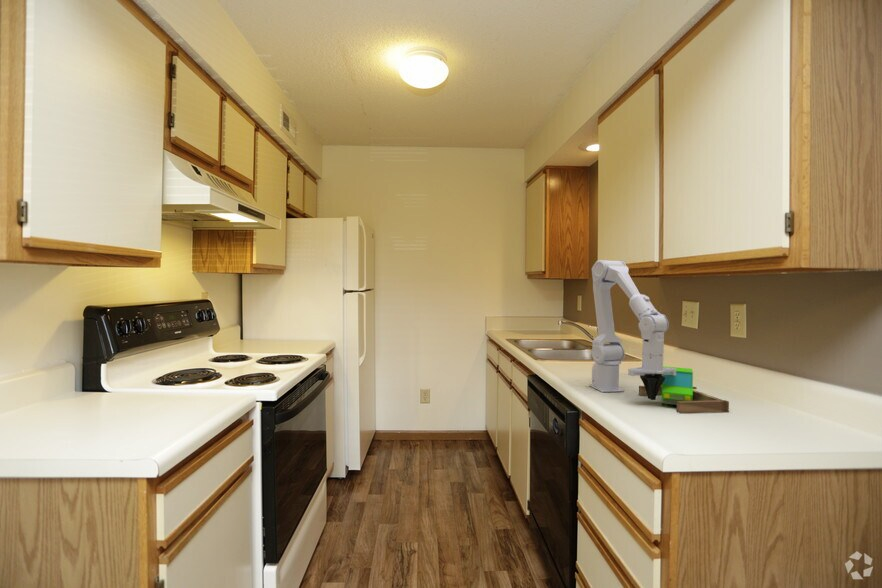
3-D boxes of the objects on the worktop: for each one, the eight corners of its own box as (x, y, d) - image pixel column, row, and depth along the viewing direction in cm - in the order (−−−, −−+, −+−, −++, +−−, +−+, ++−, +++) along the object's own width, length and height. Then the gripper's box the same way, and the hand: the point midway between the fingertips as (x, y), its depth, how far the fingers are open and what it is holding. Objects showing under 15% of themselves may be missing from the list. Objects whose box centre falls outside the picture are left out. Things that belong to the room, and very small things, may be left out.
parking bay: (638, 395, 141) (638, 385, 141) (680, 394, 143) (681, 385, 143) (680, 413, 121) (680, 402, 121) (728, 411, 123) (729, 401, 123)
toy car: (657, 406, 128) (658, 373, 128) (658, 396, 140) (659, 365, 140) (697, 412, 123) (698, 377, 123) (695, 401, 135) (695, 369, 135)
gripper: (638, 356, 126) (637, 403, 126) (683, 356, 128) (682, 402, 128) (624, 352, 133) (623, 396, 133) (668, 352, 135) (666, 395, 135)
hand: (651, 399), depth 131 cm, fingers closed
